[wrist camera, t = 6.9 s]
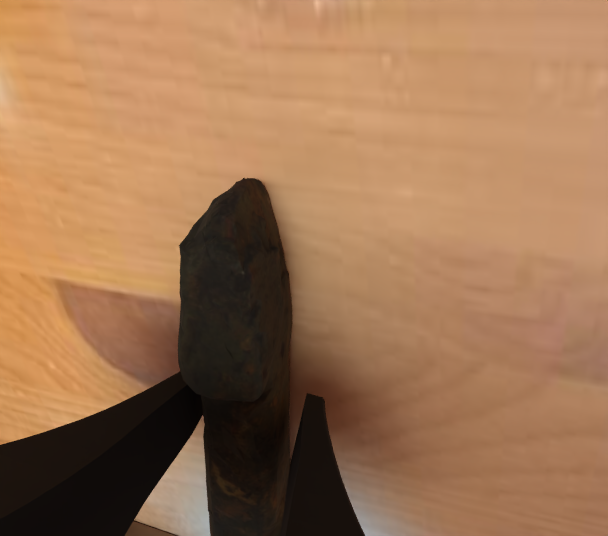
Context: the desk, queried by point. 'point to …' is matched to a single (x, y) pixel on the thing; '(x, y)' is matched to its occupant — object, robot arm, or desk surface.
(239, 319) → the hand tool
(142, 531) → the grey brown flat box
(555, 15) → the desk surface
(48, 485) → the robot arm
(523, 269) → the desk surface
